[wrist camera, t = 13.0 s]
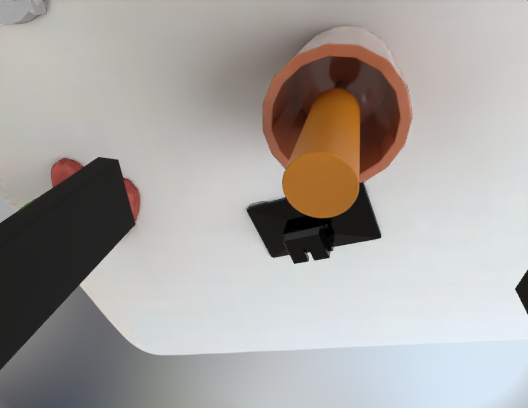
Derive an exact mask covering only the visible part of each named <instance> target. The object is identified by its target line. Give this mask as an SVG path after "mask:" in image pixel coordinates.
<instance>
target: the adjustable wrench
mask: <svg viewBox="0 0 528 408" xmlns="http://www.w3.org/2000/svg"><path fill="white" fill-rule="evenodd" d="M41 14H46V7H45V2H44V0H0V24H17V23H25V22H29V21H31V20H32V19H34V18H35V17H36V16H37V15H41Z"/></svg>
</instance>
